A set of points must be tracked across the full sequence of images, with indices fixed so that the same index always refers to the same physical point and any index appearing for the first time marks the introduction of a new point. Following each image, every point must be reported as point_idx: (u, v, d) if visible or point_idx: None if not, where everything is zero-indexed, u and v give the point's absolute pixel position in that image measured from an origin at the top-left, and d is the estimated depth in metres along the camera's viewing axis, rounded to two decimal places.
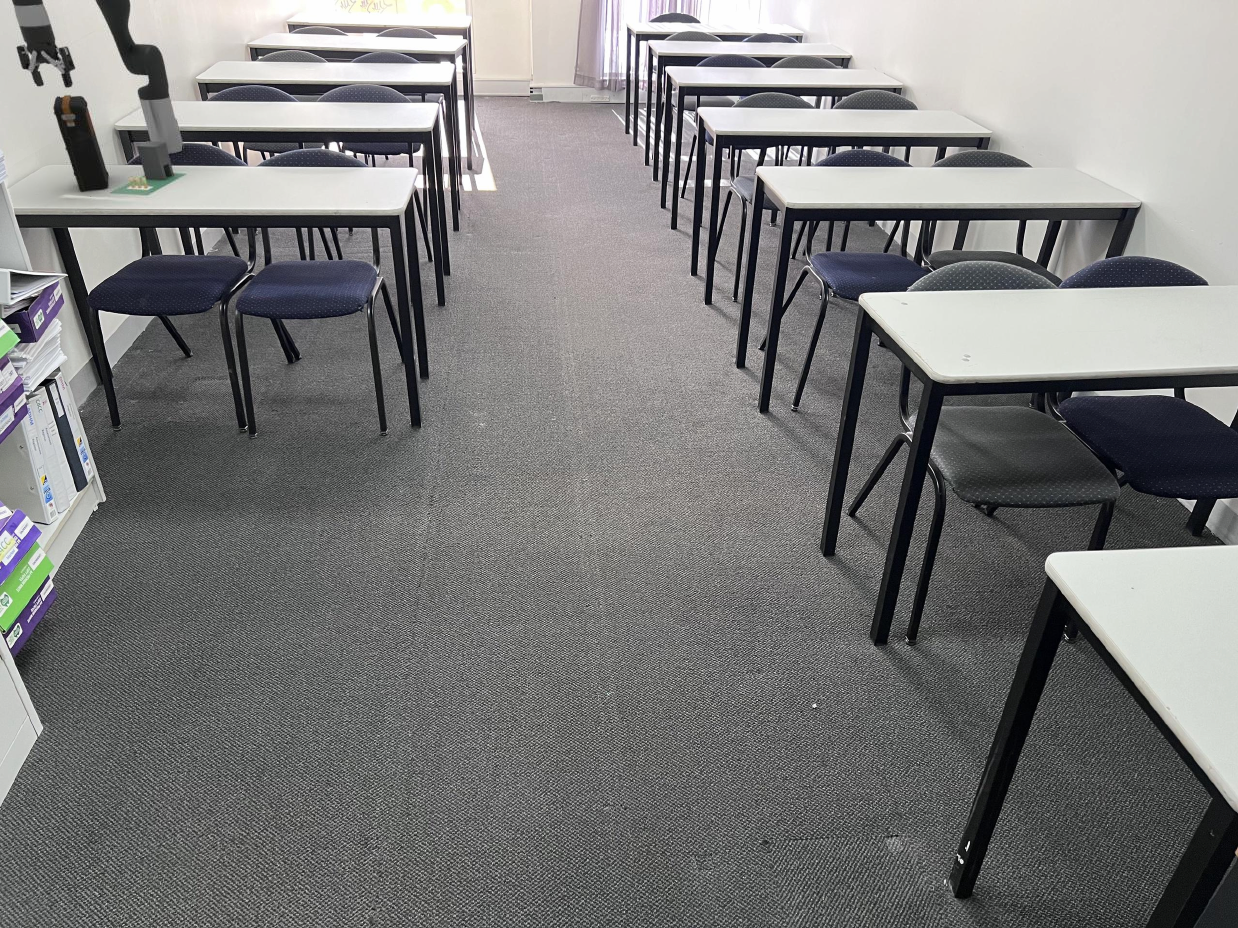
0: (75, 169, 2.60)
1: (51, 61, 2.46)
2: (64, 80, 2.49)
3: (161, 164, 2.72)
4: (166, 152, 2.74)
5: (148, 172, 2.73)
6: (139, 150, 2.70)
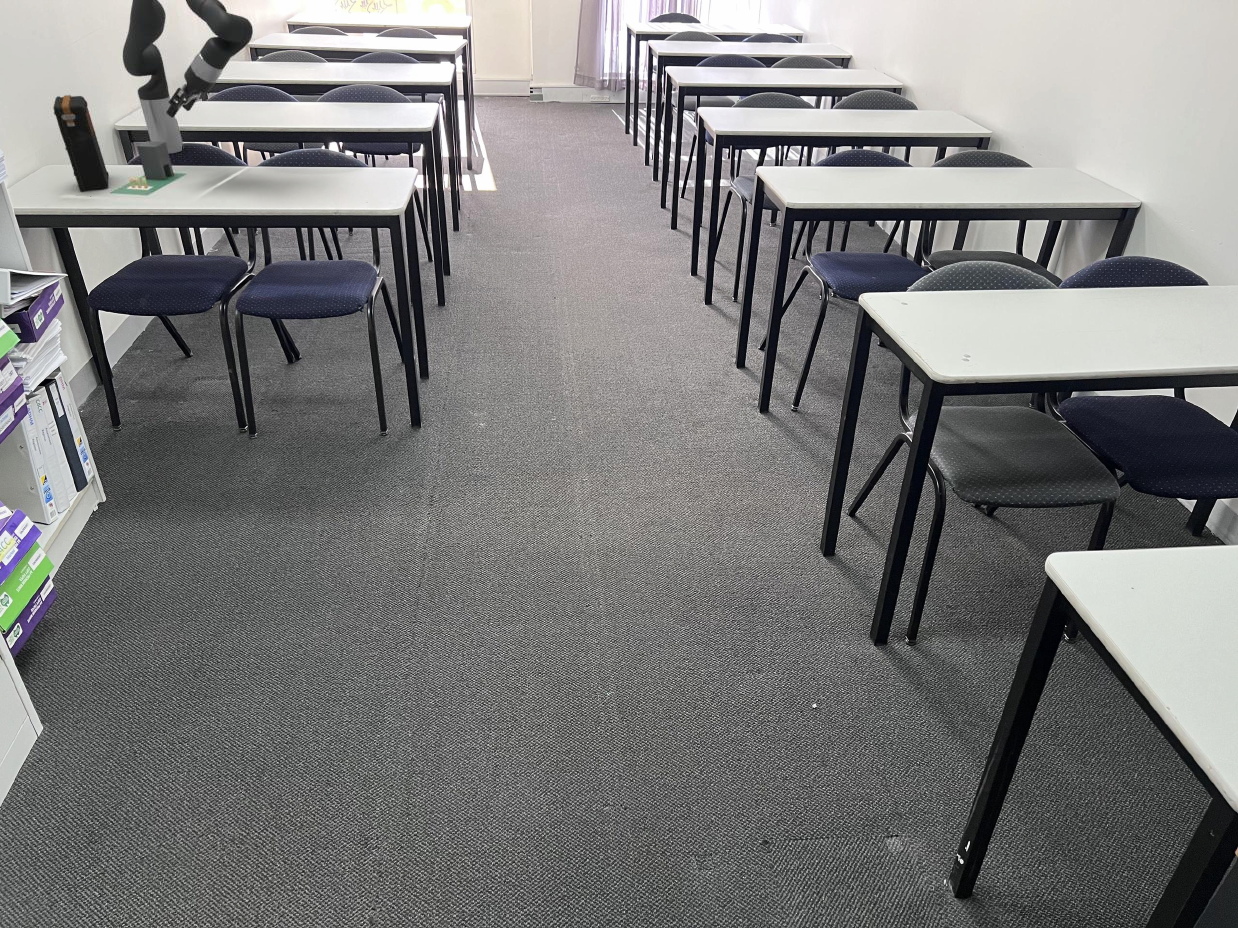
0: (75, 169, 2.60)
1: (198, 97, 2.64)
2: (191, 106, 2.67)
3: (161, 164, 2.72)
4: (166, 152, 2.74)
5: (148, 172, 2.73)
6: (139, 150, 2.70)
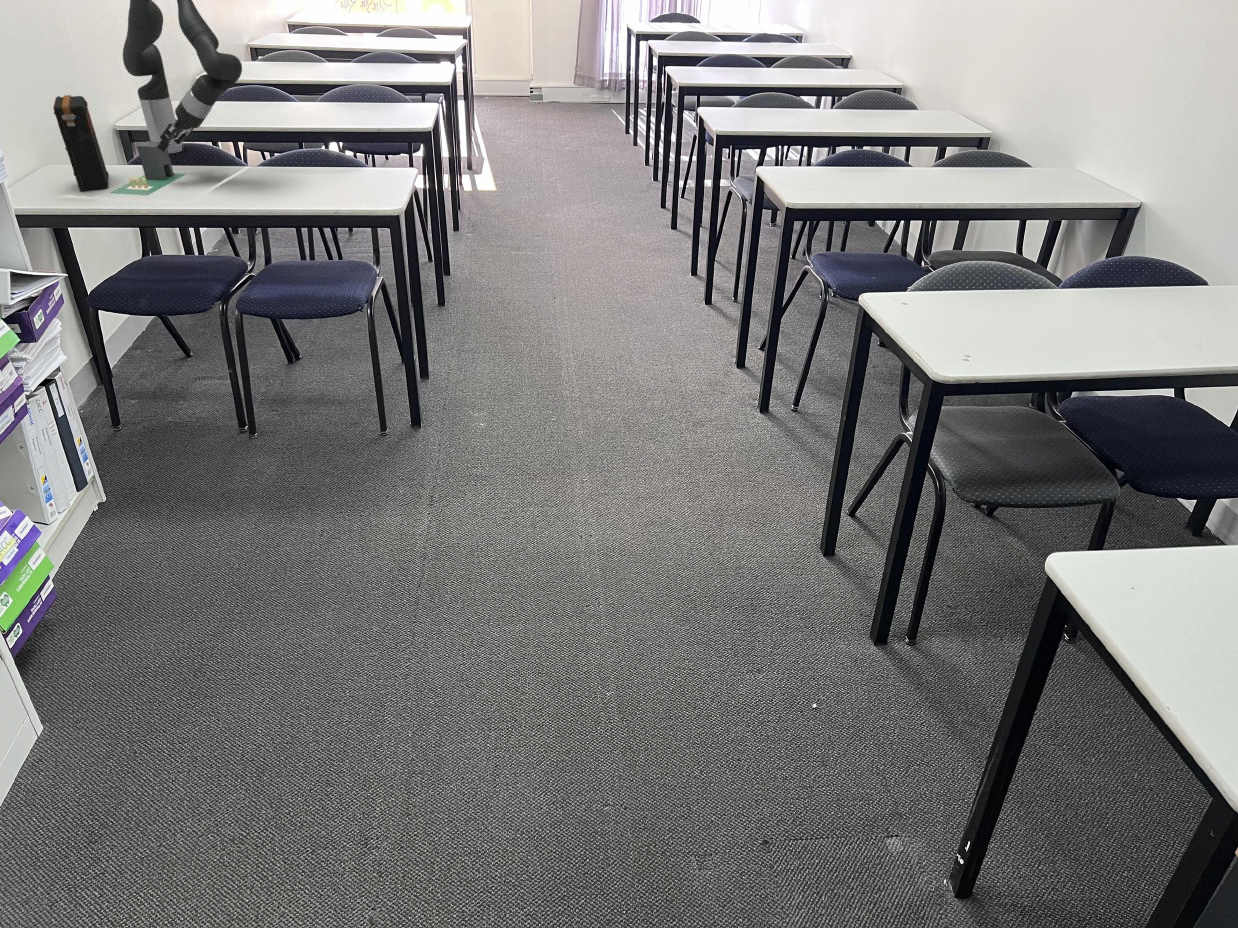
0: (75, 169, 2.60)
1: (189, 131, 2.70)
2: None
3: (161, 164, 2.72)
4: (166, 152, 2.74)
5: (148, 172, 2.73)
6: (139, 150, 2.70)
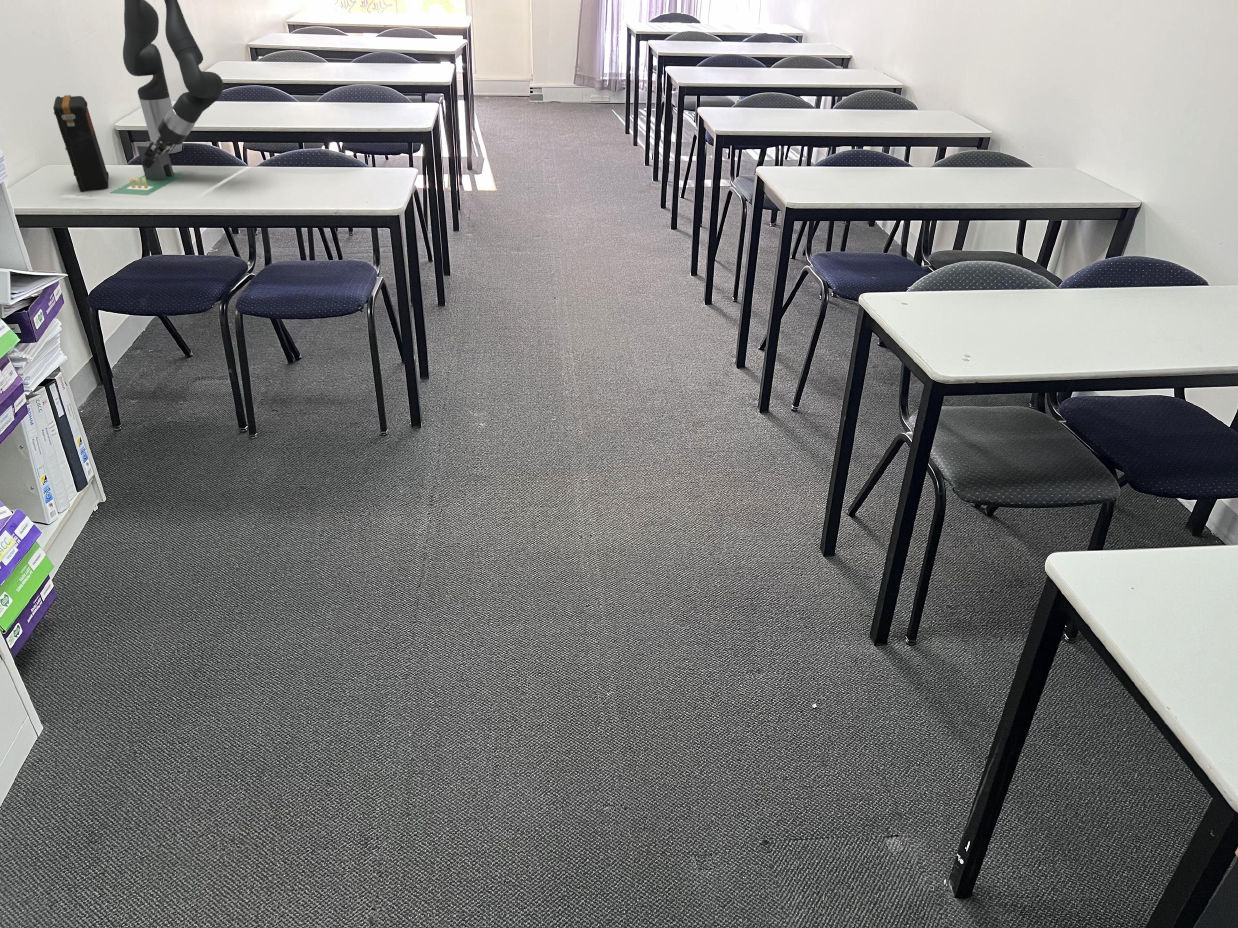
0: (75, 169, 2.60)
1: (170, 149, 2.73)
2: None
3: (161, 164, 2.72)
4: (166, 152, 2.74)
5: (148, 172, 2.73)
6: (139, 150, 2.70)
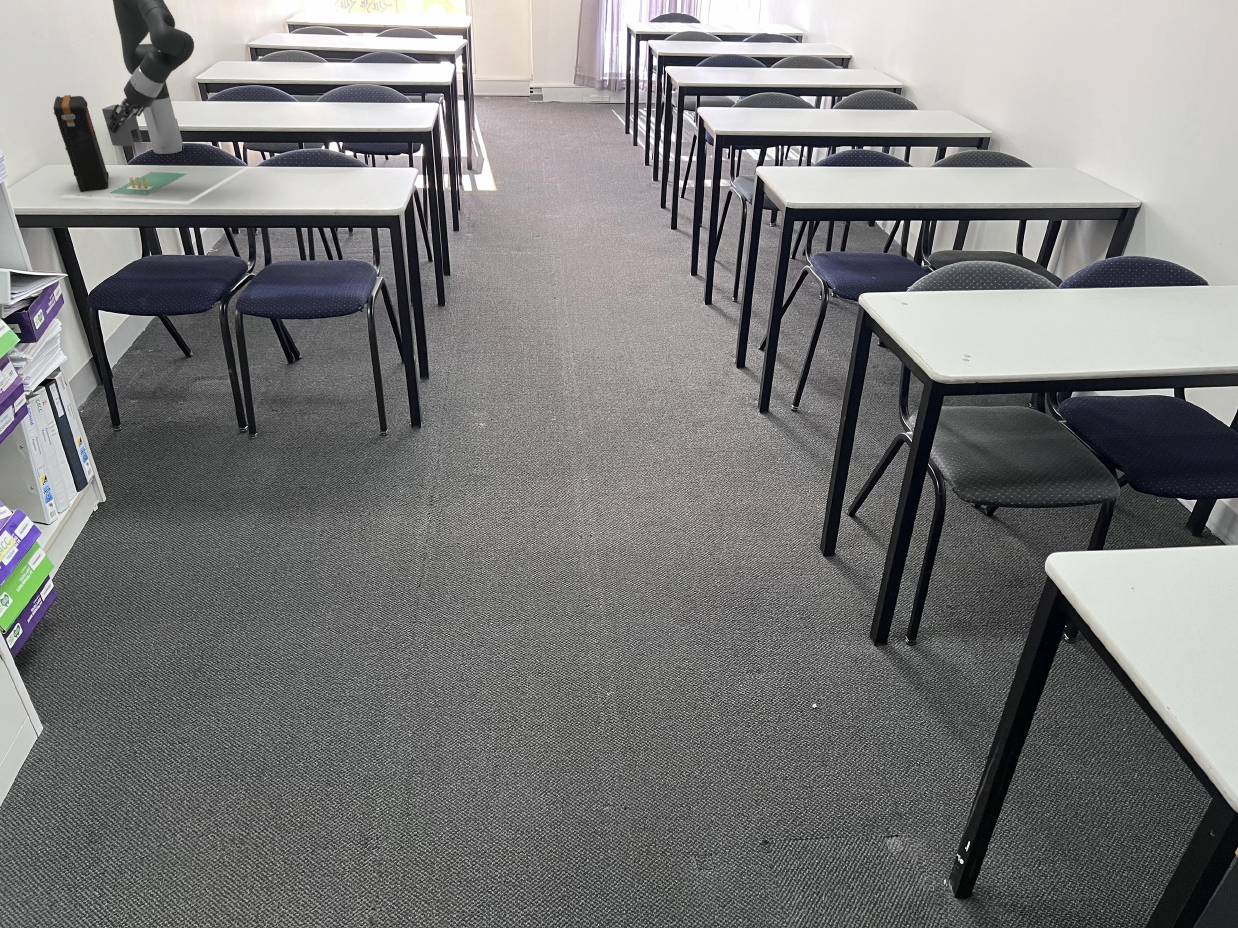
0: (75, 169, 2.60)
1: (138, 113, 2.57)
2: None
3: (128, 128, 2.56)
4: (134, 116, 2.58)
5: (114, 137, 2.57)
6: (104, 113, 2.54)
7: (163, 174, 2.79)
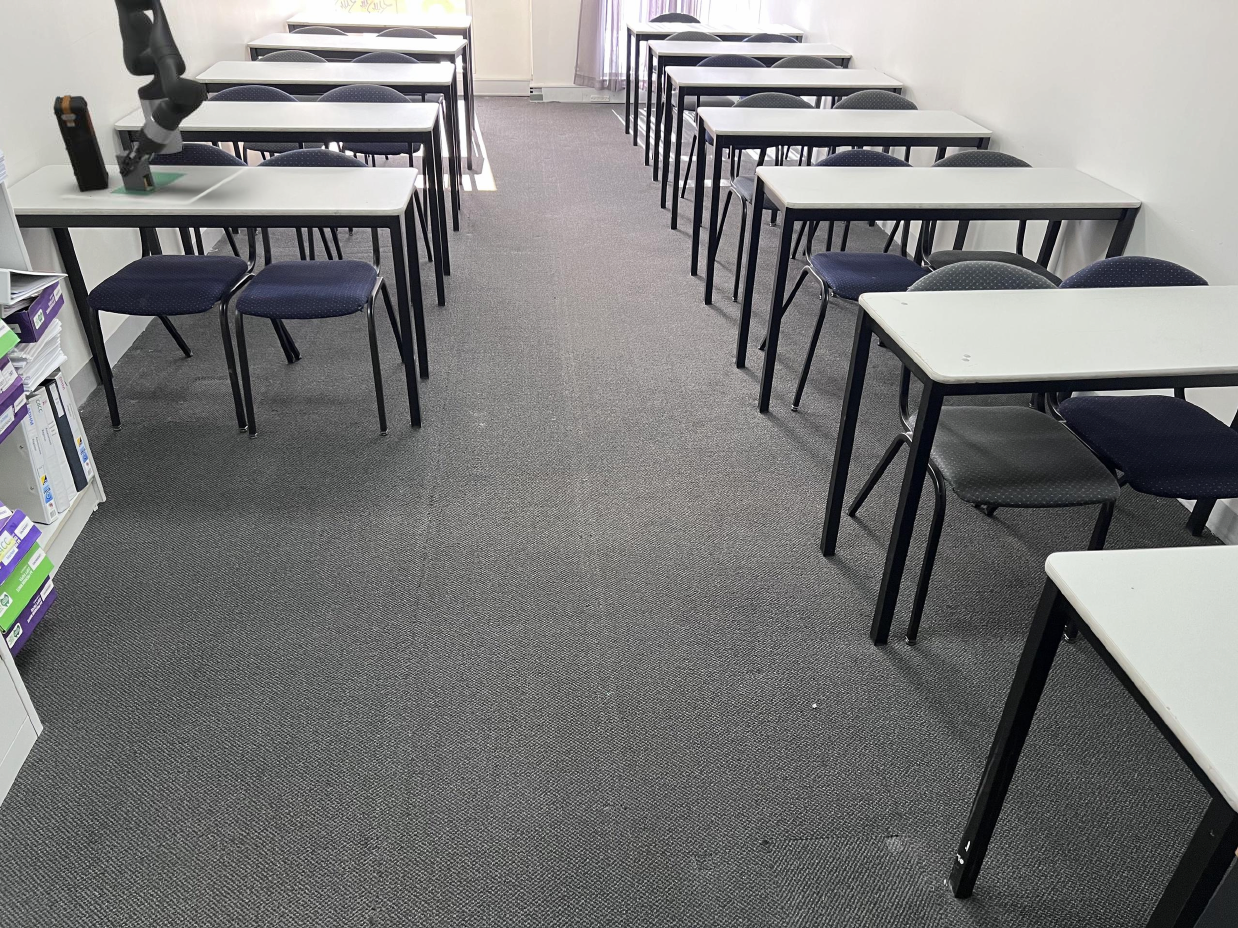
0: (75, 169, 2.60)
1: (151, 156, 2.65)
2: None
3: (141, 174, 2.63)
4: (146, 161, 2.65)
5: (127, 182, 2.64)
6: (118, 160, 2.61)
7: (163, 174, 2.79)
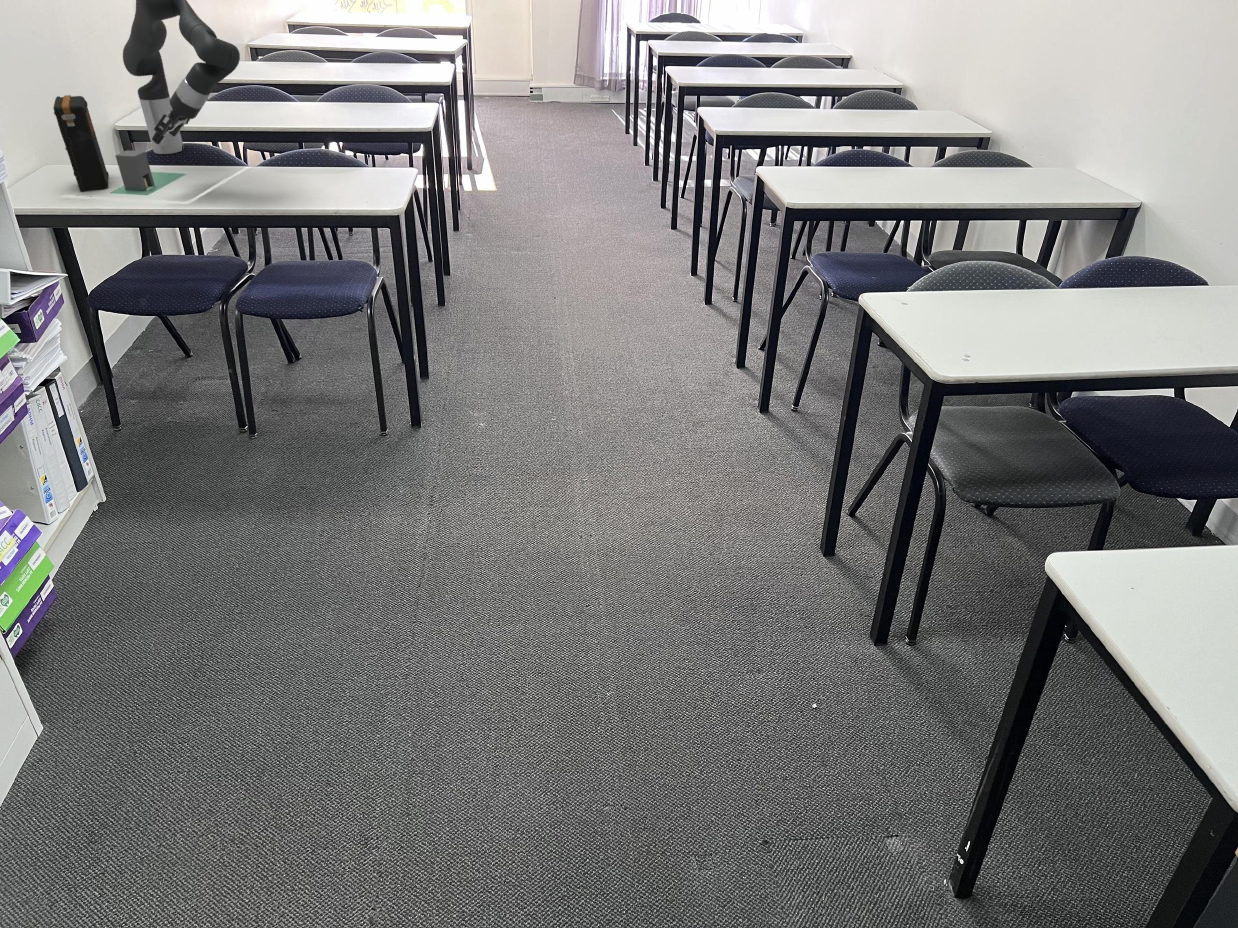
0: (75, 169, 2.60)
1: (184, 123, 2.58)
2: (177, 132, 2.61)
3: (141, 174, 2.63)
4: (146, 161, 2.65)
5: (127, 182, 2.64)
6: (118, 160, 2.61)
7: (163, 174, 2.79)
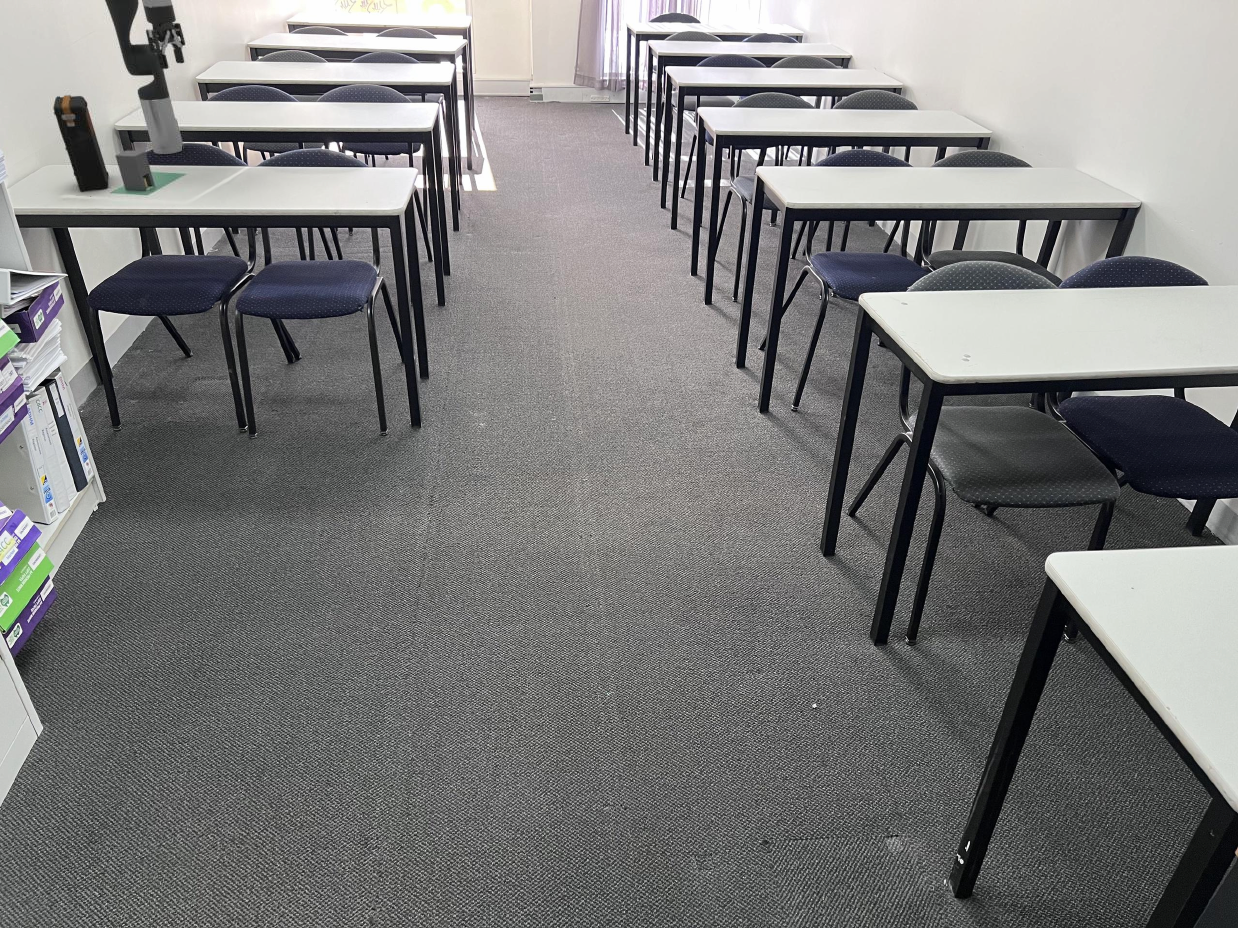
0: (75, 169, 2.60)
1: (176, 38, 2.57)
2: (182, 56, 2.62)
3: (141, 174, 2.63)
4: (146, 161, 2.65)
5: (127, 182, 2.64)
6: (118, 160, 2.61)
7: (163, 174, 2.79)
